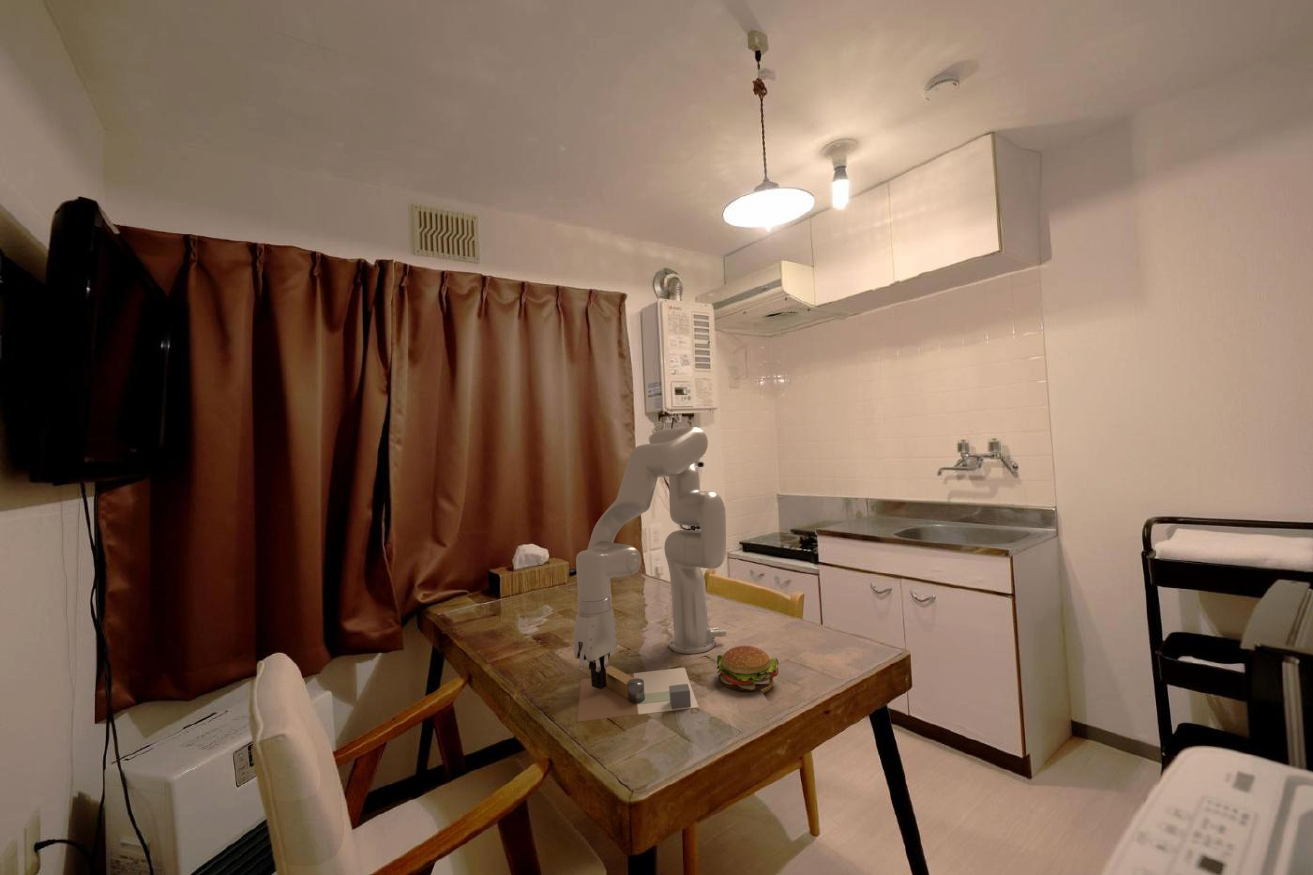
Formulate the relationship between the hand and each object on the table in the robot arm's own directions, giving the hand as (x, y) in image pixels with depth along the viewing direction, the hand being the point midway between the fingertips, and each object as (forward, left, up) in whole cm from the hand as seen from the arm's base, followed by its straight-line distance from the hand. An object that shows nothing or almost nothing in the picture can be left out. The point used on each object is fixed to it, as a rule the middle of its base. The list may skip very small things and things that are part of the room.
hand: (599, 686), depth 116 cm
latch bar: (-5, +2, -1) cm, 6 cm away
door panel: (-8, +3, -2) cm, 9 cm away
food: (-34, +2, -3) cm, 34 cm away
